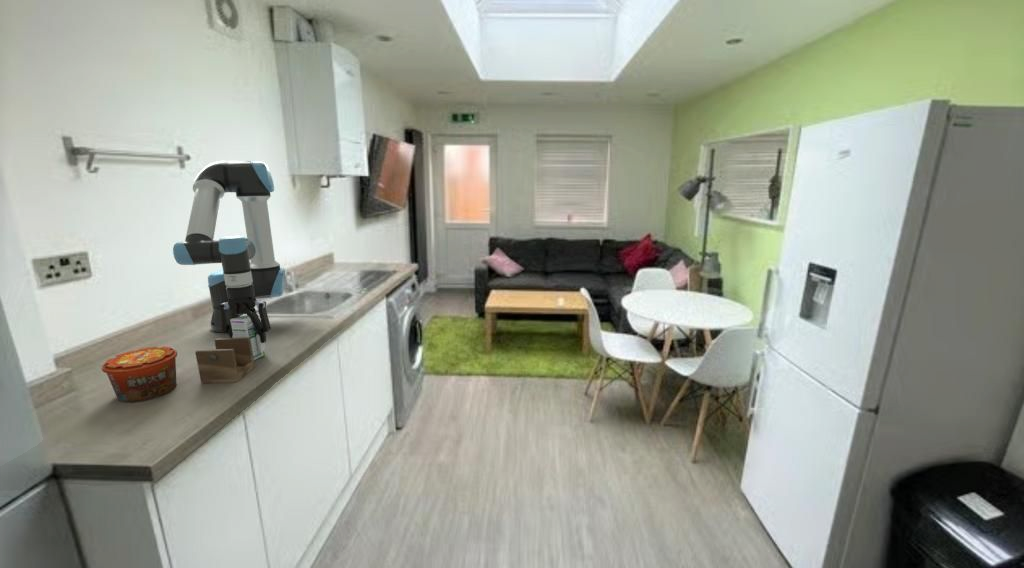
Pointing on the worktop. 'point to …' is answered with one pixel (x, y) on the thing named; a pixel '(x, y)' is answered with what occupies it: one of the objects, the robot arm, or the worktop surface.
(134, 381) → the food container
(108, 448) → the worktop surface
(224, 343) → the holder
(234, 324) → the syrup box
